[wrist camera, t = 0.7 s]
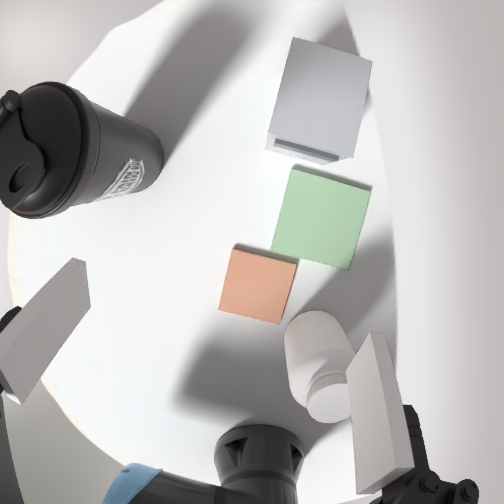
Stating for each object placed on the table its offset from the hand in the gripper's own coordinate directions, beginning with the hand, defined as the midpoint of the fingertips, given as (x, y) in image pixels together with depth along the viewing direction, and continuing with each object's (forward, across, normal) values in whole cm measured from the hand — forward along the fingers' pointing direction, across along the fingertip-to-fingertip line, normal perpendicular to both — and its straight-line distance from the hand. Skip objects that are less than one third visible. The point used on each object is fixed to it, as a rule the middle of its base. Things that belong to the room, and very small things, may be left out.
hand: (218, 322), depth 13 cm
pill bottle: (+22, -11, +18) cm, 31 cm away
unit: (+29, -3, -7) cm, 30 cm away
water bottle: (+26, +17, +2) cm, 31 cm away
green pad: (+26, -8, +4) cm, 27 cm away
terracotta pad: (+23, -2, +14) cm, 26 cm away
